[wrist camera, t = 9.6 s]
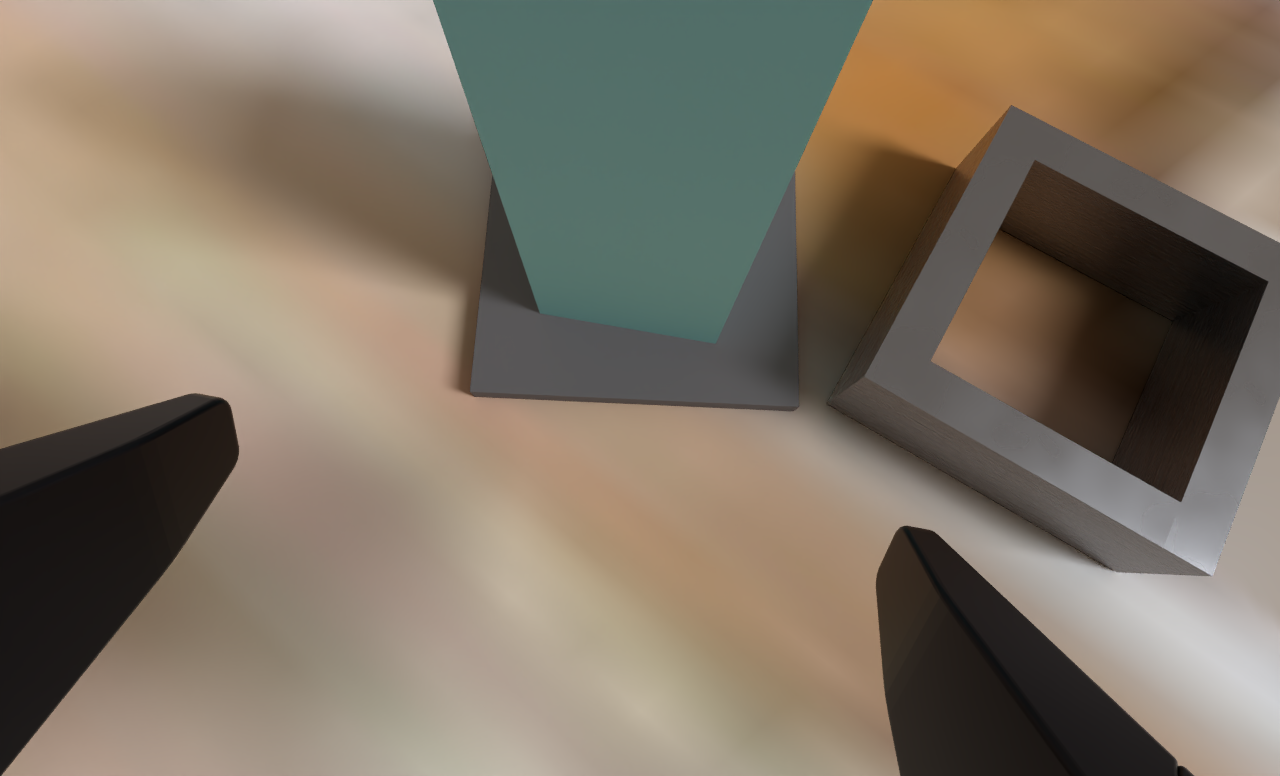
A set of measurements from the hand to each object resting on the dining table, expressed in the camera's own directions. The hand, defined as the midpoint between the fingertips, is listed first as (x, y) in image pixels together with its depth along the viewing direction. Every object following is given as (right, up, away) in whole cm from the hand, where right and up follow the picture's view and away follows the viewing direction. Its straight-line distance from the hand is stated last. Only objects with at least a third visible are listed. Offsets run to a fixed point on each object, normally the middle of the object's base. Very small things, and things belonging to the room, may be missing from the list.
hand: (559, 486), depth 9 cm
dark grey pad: (+1, +5, +11) cm, 12 cm away
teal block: (+1, +5, +10) cm, 12 cm away
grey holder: (+12, +2, +11) cm, 16 cm away
